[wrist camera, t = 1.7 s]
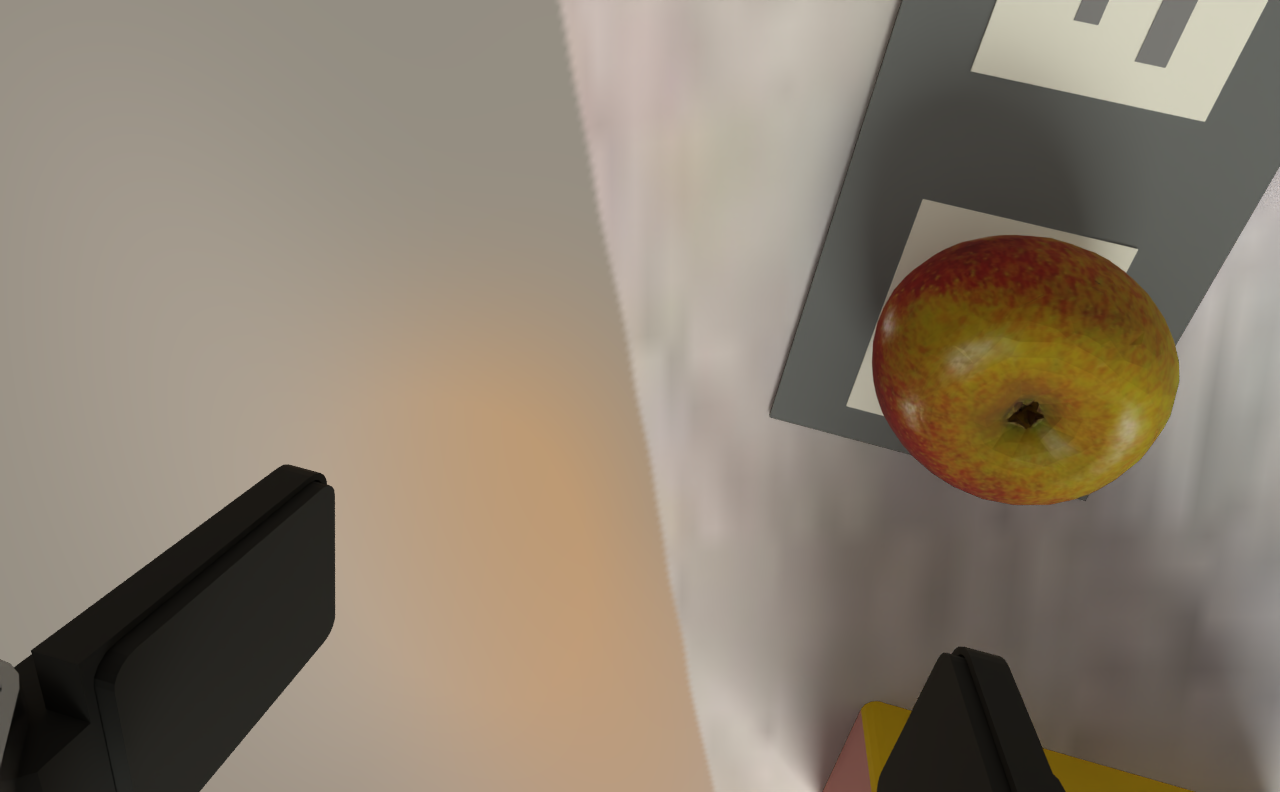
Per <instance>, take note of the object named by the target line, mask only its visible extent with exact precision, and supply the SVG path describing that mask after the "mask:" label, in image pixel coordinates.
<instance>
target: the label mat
mask: <svg viewBox="0 0 1280 792" xmlns="http://www.w3.org/2000/svg"><path fill="white" fill-rule="evenodd" d="M1279 167H1280V0H902V2H901V5H900V8H899V11H898V15H897V18H896V21H895V24H894V27H893V30H892V33H891V36H890V40H889V43H888V46H887V49H886V52H885V55H884V58H883V61H882V65H881V68H880V71H879V74H878V77H877V80H876V83H875V87H874V90H873V93H872V96H871V99H870V102H869V105H868V108H867V112H866V115H865V118H864V121H863V124H862V127H861V130H860V133H859V137H858V140H857V143H856V146H855V149H854V152H853V155H852V158H851V162H850V165H849V168H848V171H847V174H846V177H845V180H844V183H843V187H842V190H841V193H840V196H839V199H838V202H837V205H836V209H835V212H834V215H833V218H832V221H831V224H830V227H829V230H828V234H827V237H826V240H825V243H824V246H823V249H822V252H821V255H820V259H819V262H818V265H817V268H816V271H815V274H814V277H813V280H812V284H811V287H810V290H809V293H808V296H807V299H806V302H805V306H804V309H803V312H802V315H801V318H800V321H799V324H798V327H797V331H796V334H795V337H794V340H793V343H792V346H791V349H790V352H789V356H788V359H787V362H786V365H785V368H784V371H783V374H782V377H781V381H780V384H779V387H778V390H777V393H776V396H775V399H774V403H773V406H772V409H771V412H770V417H771V418H774V419H778V420H782V421H786V422H789V423H793V424H797V425H801V426H805V427H808V428H812V429H816V430H820V431H823V432H827V433H831V434H835V435H838V436H842V437H846V438H850V439H853V440H857V441H861V442H865V443H869V444H872V445H876V446H880V447H884V448H887V449H891V450H895V451H899V452H902V453H906V454H910V453H909V452H908V451H907V449H906V448H905V447H904V446H903V445H902V443H901V442H900V441H899V439H898V438H897V436H896V435H895V433H894V432H893V430H892V429H891V427H890V426H889V424H888V422H887V420H886V419H885V417H884V415H883V413H882V411H881V408H880V405H879V402H878V399H877V396H876V392H875V387H874V382H873V371H872V351H873V340H874V336H875V331H876V327H877V322H878V320H879V317H880V315H881V313H882V310H883V308H884V306H885V304H886V303H887V301H888V299H889V297H890V296H891V294H892V292H893V290H894V289H895V288H896V287H897V286H898V285H899V283H900V282H901V281H902V280H903V279H904V278H905V277H906V276H907V275H908V274H909V273H910V272H912V271H913V270H914V269H915V268H917V267H918V266H919V265H921V264H922V263H924V262H925V261H926V260H928V259H929V258H931V257H932V256H933V255H935V254H937V253H939V252H940V251H942V250H944V249H947V248H949V247H951V246H954V245H956V244H958V243H961V242H965V241H969V240H974V239H978V238H983V237H988V236H997V235H1023V236H1036V237H1047V238H1053V239H1056V240H1060V241H1063V242H1067V243H1070V244H1073V245H1076V246H1078V247H1081V248H1083V249H1086V250H1089V251H1092V252H1095V253H1097V254H1098V255H1100V256H1102V257H1104V258H1106V259H1108V260H1110V261H1111V262H1112V263H1114V264H1115V265H1116V266H1118V267H1119V268H1120V269H1122V270H1123V271H1125V272H1126V273H1127V274H1128V275H1129V276H1130V277H1131V278H1133V279H1134V280H1135V281H1136V282H1137V283H1138V284H1139V285H1140V286H1141V287H1142V288H1143V289H1144V290H1145V291H1146V292H1147V293H1148V294H1149V296H1150V297H1151V299H1152V300H1153V302H1154V303H1155V304H1156V306H1157V307H1158V309H1159V310H1160V312H1161V314H1162V315H1163V317H1164V318H1165V320H1166V323H1167V325H1168V327H1169V330H1170V332H1171V335H1172V337H1173V340H1174V343H1175V346H1176V344H1177V342H1178V341H1179V339H1180V337H1181V336H1182V334H1183V332H1184V330H1185V329H1186V327H1187V325H1188V323H1189V322H1190V320H1191V318H1192V317H1193V315H1194V313H1195V311H1196V310H1197V308H1198V306H1199V305H1200V303H1201V301H1202V299H1203V298H1204V296H1205V294H1206V292H1207V291H1208V289H1209V287H1210V286H1211V284H1212V282H1213V280H1214V279H1215V277H1216V275H1217V274H1218V272H1219V270H1220V268H1221V267H1222V265H1223V263H1224V261H1225V260H1226V258H1227V256H1228V255H1229V253H1230V251H1231V249H1232V248H1233V246H1234V244H1235V242H1236V241H1237V239H1238V237H1239V236H1240V234H1241V232H1242V230H1243V229H1244V227H1245V225H1246V224H1247V222H1248V220H1249V218H1250V217H1251V215H1252V213H1253V211H1254V210H1255V208H1256V206H1257V205H1258V203H1259V201H1260V199H1261V198H1262V196H1263V194H1264V193H1265V191H1266V189H1267V187H1268V186H1269V184H1270V182H1271V180H1272V179H1273V177H1274V175H1275V174H1276V172H1277V170H1278V168H1279ZM910 455H911V454H910ZM1088 496H1089V494H1088V495H1085V496H1082V497H1079V498H1077V499H1080V500H1083V501H1086V499H1087V497H1088Z"/></svg>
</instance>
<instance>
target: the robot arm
mask: <svg viewBox="0 0 1280 792" xmlns="http://www.w3.org/2000/svg"><path fill="white" fill-rule="evenodd" d="M334 620H335V494H334V489H333V487H332V486H329V485H327V481H326V478H325V476H324V475H323V474H321V473H318V472H314V471H311V470H307V469H303V468H300V467H296V466H292V465H282V466H281V467H279V468H277V469H276V470H274V471H273V472H272V473H270V474H269V475H268V476H266V477H265V478H264V479H262V480H261V481H260V482H258V483H257V484H255V485H254V486H253V487H252V488H250V489H249V490H247V491H246V492H245V493H243V494H242V495H241V496H239V497H238V498H237V499H235V500H234V501H233V502H231V503H230V504H228V505H227V506H226V507H224V508H223V509H222V510H221V511H219V512H218V513H216V514H215V515H214V516H212V517H211V518H210V519H208V520H207V521H205V522H204V523H203V524H202V525H200V526H199V527H197V528H196V529H195V530H193V531H192V532H191V533H189V534H188V535H187V536H185V537H184V538H183V539H181V540H180V541H178V542H177V543H176V544H174V545H173V546H172V547H170V548H169V549H168V550H166V551H165V552H164V553H162V554H161V555H160V556H158V557H157V558H155V559H154V560H153V561H152V562H150V563H149V564H147V565H146V566H145V567H143V568H142V569H141V570H139V571H138V572H137V573H135V574H134V575H133V576H131V577H130V578H128V579H127V580H126V581H124V582H123V583H122V584H120V585H119V586H118V587H116V588H115V589H114V590H112V591H111V592H110V593H108V594H107V595H105V596H104V597H103V598H101V599H100V600H99V601H97V602H96V603H95V604H94V605H92V606H91V607H89V608H88V609H86V610H85V611H84V612H83V613H81V614H80V615H78V616H77V617H76V618H74V619H73V620H72V621H70V622H69V623H68V624H66V625H65V626H64V627H62V628H61V629H60V630H58V631H57V632H56V633H54V634H53V635H51V636H50V637H49V638H47V639H46V640H45V641H43V642H42V643H41V644H39V645H38V646H36V647H35V648H34V649H33V650H31V652H32V655H30V656H29V657H28V658H26V659H25V660H23V661H22V662H21V663H19V664H18V665H17V666H16V667H13V666H12V665H11V664H10V663H8V662H6V661H3V660H1V659H0V792H200V790H201V789H202V788H203V787H204V786H205V784H206V783H207V782H208V781H209V780H210V778H211V777H212V776H213V775H214V774H215V772H216V771H217V770H218V769H219V768H220V766H221V765H222V764H223V763H224V762H225V760H226V759H227V758H228V757H229V756H230V754H231V753H232V752H233V751H234V750H235V748H236V747H237V746H238V745H239V744H240V742H241V741H242V740H243V739H244V738H245V736H246V735H247V734H248V733H249V732H250V730H251V729H252V728H253V726H254V725H255V724H256V723H257V722H258V721H259V720H260V718H261V717H262V716H263V715H264V713H265V712H266V711H267V710H268V709H269V707H270V706H271V705H272V704H273V703H274V701H275V700H276V699H277V698H278V696H279V695H280V694H281V693H282V692H283V691H284V689H285V688H286V687H287V686H288V685H289V683H290V682H291V681H292V680H293V679H294V677H295V676H296V675H297V674H298V673H299V671H300V670H301V669H302V668H303V667H304V665H305V664H306V663H307V662H308V661H309V659H310V658H311V657H312V656H313V655H314V653H315V652H316V651H317V650H318V648H319V647H320V646H321V645H322V644H323V643H324V641H325V640H326V639H327V637H328V635H329V634H330V632H331V629H332V627H333V623H334ZM877 792H1066V791H1065V789H1064V788H1063V786H1062V784H1061V782H1060V781H1059V779H1058V778H1057V777H1056V776H1055V775H1054V774H1053V773H1052V770H1051V768H1050V765H1049V763H1048V760H1047V758H1046V756H1045V753H1044V751H1043V748H1042V746H1041V743H1040V741H1039V739H1038V736H1037V734H1036V731H1035V729H1034V726H1033V724H1032V722H1031V719H1030V717H1029V714H1028V712H1027V710H1026V707H1025V705H1024V702H1023V700H1022V697H1021V695H1020V693H1019V690H1018V688H1017V685H1016V683H1015V680H1014V678H1013V676H1012V673H1011V671H1010V668H1009V666H1008V664H1007V663H1006V661H1005V660H1004V659H1003V658H1002V657H1000V656H996V655H992V654H988V653H985V652H981V651H977V650H974V649H970V648H966V647H958V648H956V649H955V650H954V652H953V653H952V654H949V653H943V654H941V655H940V657H939V658H938V660H937V662H936V664H935V666H934V668H933V670H932V672H931V674H930V676H929V678H928V680H927V682H926V684H925V686H924V688H923V690H922V692H921V694H920V696H919V698H918V700H917V702H916V704H915V706H914V708H913V710H912V712H911V714H910V716H909V718H908V720H907V722H906V724H905V726H904V728H903V730H902V732H901V734H900V736H899V738H898V740H897V742H896V744H895V746H894V748H893V750H892V752H891V754H890V756H889V757H888V759H887V761H886V763H885V765H884V767H883V769H882V771H881V774H880V776H879V780H878V785H877Z"/></svg>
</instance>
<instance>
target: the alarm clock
mask: <svg viewBox="0 0 1280 792" xmlns="http://www.w3.org/2000/svg"><path fill="white" fill-rule="evenodd" d="M911 712H912V711H911V710H907V709H904V708H900V707H897V706H893V705H890V704H886V703H883V702H879V701H874V702H869V703H867V704H865V705H864V706H863V707H862V709H861V710H860V712H859V714H858V717H857V719H856V721H855V723H854V725H853V727H852V729H851V732H850V734H849V736H848V738H847V740H846V742H845V745H844V747H843V749H842V751H841V753H840V755H839V758H838V760H837V762H836V764H835V766H834V768H833V770H832V773H831V775H830V777H829V779H828V781H827V783H826V786H825V788H824V790H823V792H877V785H878V780H879V776H880V774H881V771H882V769H883V767H884V765H885V763H886V761H887V759H888V757H889V756H890V754H891V752H892V750H893V748H894V746H895V744H896V742H897V740H898V738H899V736H900V734H901V732H902V730H903V728H904V726H905V724H906V722H907V720H908V718H909V716H910V714H911ZM1043 751H1044V753H1045V756H1046V758H1047V760H1048V763H1049V765H1050V768H1051V770H1052V773H1053V774H1054V775H1055V776H1056V777H1057V778H1058V779H1059V781H1060V782H1061V784H1062V786H1063V788H1064V789H1065V791H1066V792H1194V791H1191V790H1187V789H1184V788H1180V787H1177V786H1173V785H1170V784H1166V783H1163V782H1159V781H1156V780H1152V779H1149V778H1145V777H1142V776H1138V775H1135V774H1131V773H1128V772H1124V771H1121V770H1117V769H1114V768H1110V767H1107V766H1103V765H1100V764H1096V763H1093V762H1089V761H1086V760H1082V759H1079V758H1075V757H1072V756H1068V755H1065V754H1061V753H1058V752H1054V751H1051V750H1047V749H1044V748H1043Z"/></svg>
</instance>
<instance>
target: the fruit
mask: <svg viewBox="0 0 1280 792" xmlns="http://www.w3.org/2000/svg"><path fill="white" fill-rule="evenodd" d="M872 371H873V382H874V387H875V392H876V396H877V399H878V402H879V405H880V408H881V411H882V413H883V415H884V417H885V419H886V420H887V422H888V424H889V426H890V427H891V429H892V430H893V432H894V433H895V435H896V436H897V438H898V439H899V441H900V442H901V443H902V445H903V446H904V447H905V448H906V449H907V451H908V452H909V453H910V454H911V455H912V456H913V457H914V458H915V459H916V460H918V461H919V462H920V463H921V464H922V465H923V466H925V467H926V468H927V469H928V470H929V471H930V472H931V473H933V474H934V475H936V476H938V477H939V478H941V479H942V480H944V481H945V482H947V483H948V484H950V485H952V486H953V487H956V488H958V489H960V490H963V491H965V492H967V493H970V494H972V495H975V496H977V497H979V498H982V499H986V500H991V501H996V502H1002V503H1007V504H1012V505H1050V504H1055V503H1060V502H1064V501H1069V500H1074V499H1077V498H1079V497H1082V496H1085V495H1088V494H1090V493H1092V492H1094V491H1097V490H1099V489H1100V488H1102V487H1104V486H1105V485H1107V484H1109V483H1110V482H1112V481H1114V480H1115V479H1117V478H1118V477H1119V476H1121V475H1122V474H1123V473H1124V472H1126V471H1127V470H1128V469H1129V468H1131V467H1132V466H1133V465H1134V464H1136V463H1137V462H1138V461H1139V460H1140V459H1141V458H1142V457H1143V456H1144V455H1145V453H1146V452H1147V451H1148V449H1149V448H1150V447H1151V445H1152V444H1153V443H1154V441H1155V440H1156V438H1157V437H1158V436H1159V434H1160V433H1161V431H1162V430H1163V428H1164V427H1165V425H1166V423H1167V421H1168V419H1169V417H1170V415H1171V411H1172V407H1173V404H1174V400H1175V396H1176V392H1177V388H1178V385H1179V360H1178V356H1177V352H1176V347H1175V343H1174V340H1173V337H1172V335H1171V332H1170V330H1169V327H1168V325H1167V323H1166V320H1165V318H1164V317H1163V315H1162V314H1161V312H1160V310H1159V309H1158V307H1157V306H1156V304H1155V303H1154V302H1153V300H1152V299H1151V297H1150V296H1149V294H1148V293H1147V292H1146V291H1145V290H1144V289H1143V288H1142V287H1141V286H1140V285H1139V284H1138V283H1137V282H1136V281H1135V280H1134V279H1133V278H1131V277H1130V276H1129V275H1128V274H1127V273H1126V272H1125V271H1123V270H1122V269H1120V268H1119V267H1118V266H1116V265H1115V264H1114V263H1112V262H1111V261H1110V260H1108V259H1106V258H1104V257H1102V256H1100V255H1098V254H1097V253H1095V252H1092V251H1089V250H1086V249H1083V248H1081V247H1078V246H1076V245H1073V244H1070V243H1067V242H1063V241H1060V240H1056V239H1053V238H1047V237H1036V236H1023V235H997V236H988V237H983V238H978V239H974V240H969V241H965V242H961V243H958V244H956V245H954V246H951V247H949V248H947V249H944V250H942V251H940V252H939V253H937V254H935V255H933V256H932V257H931V258H929V259H928V260H926V261H925V262H924V263H922V264H921V265H919V266H918V267H917V268H915V269H914V270H913V271H912V272H910V273H909V274H908V275H907V276H906V277H905V278H904V279H903V280H902V281H901V282H900V283H899V285H898V286H897V287H896V288H895V289H894V290H893V292H892V294H891V296H890V297H889V299H888V301H887V303H886V304H885V306H884V308H883V310H882V313H881V315H880V317H879V320H878V322H877V327H876V331H875V336H874V340H873V351H872Z"/></svg>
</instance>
